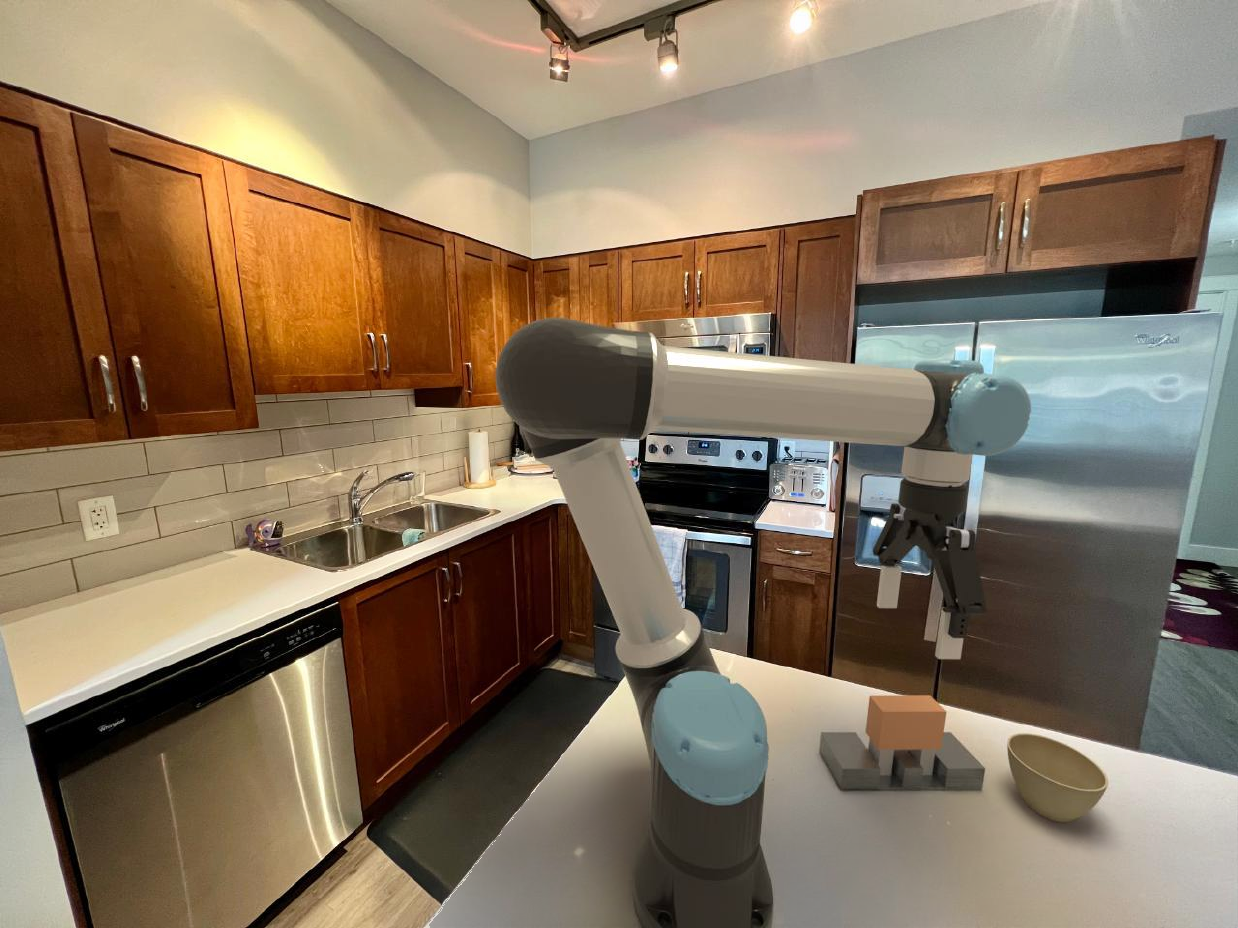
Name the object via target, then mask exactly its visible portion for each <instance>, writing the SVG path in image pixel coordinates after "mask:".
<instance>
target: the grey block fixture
mask: <svg viewBox="0 0 1238 928" xmlns="http://www.w3.org/2000/svg"><path fill="white" fill-rule="evenodd" d="M818 753H819V755H820V757H821V759H822V760H823V762H824V763H825V765H826V766H825V767H826V768H828V771H829V773H830V774H831V776H832V778H833V780H834V781H835V783H836V785H837V787H838V789H839V791H842V792H843V791H845V792H846V791H850V792H851V791H861V792H862V791H863V792H864V791H865V792H866V791H982V790H983V784H984V779H985V772H986V767H985V766H984V765H983V764H982V763H981V762H980V761H979V760H978V759H977V758H976V757H975V756H974V755H973V754H972V752H970V751H969V749H967V748H966V746H964V745H963V743H962V742H961V741H960V740H959V739H958V738H957V737H956V736H955V735H954V734H953V733H952V732H950V731H944V733H943V740H942V746H941V749H936V751H935V758H934V765H933V772H932V775H923V769H924V768H923V767H922V766H921V765H920V763H919V762H918V761H917V760H916V758H915V757H914V756H913V755H912V753H911V752H910V751H909V750H894V755H893V763H892V771H891V775H880V770H881V768H880V767H879V765H878V764H877V762H876V761H875V760H874V758H873V757H872V755H871V754H870V752H869V751H868V748H867V747H866V745H865V744H864V742H863V741H862V739H861V738H860V736H859V735H858V734H857V732H856V731H855V732H854V731H851V732H849V731H845V732H843V731H840V732H839V731H837V732H836V731H832V732H831V731H830V732H829V731H828V732H827V731H826V732H825V731H821V732H820V742H819V751H818Z"/></svg>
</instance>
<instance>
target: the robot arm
mask: <svg viewBox="0 0 1238 928" xmlns="http://www.w3.org/2000/svg"><path fill="white" fill-rule="evenodd" d="M494 379H495V387H496V389H495V390H496V392H497V393H496V394H497V395H498V399H499V401H500V403H501V405H502V407H503V409H504V411H505V412H506V414H507V415H508V416H509V417H510V419H511V420H512V421H513V422H515V423H516V424H517V425H518V426H519V427H520V428H521V430H522V432H523V434H524V437H525V439H526V441H527V443H528V446H529V448H530V450H531V454H532V456H533V458H534V460H535V461H536V462H538V463H541V464H544V465H546V466H549V468H551V469H552V470H553V471H554V474H555V477H556V479H557V481H558V484H559V487H560V489H561V491H562V495H563V496H564V499H565V501H566V504H567V506H568V509H569V512H570V513H571V516H572V518H573V521H574V523H575V525H576V528H577V530H578V532H579V535H580V538H581V541H582V542H583V545H584V547H585V550H586V553H587V555H588V557H589V560H590V562H591V564H592V566H593V569H594V571H595V574H596V576H597V580H598V581H599V584H600V588H601V589H602V592H603V594H604V596H605V598H606V601H607V604H608V607H609V608H610V610H611V612H612V613H611V614H612V616H613V618H614V620H615V623H616V626H617V627H618V631H619V633H620V635H619V637H618V638H617V640H616V642H615V643H616V644H615V648H614V649H615V654H616V657H617V658H618V661H619V663H620V664H619V665H620V666H621V668H622V671H623V673H624V676H625V678H626V681H627V684H628V686H629V688H630V691H631V693H632V696H633V698H634V702H635V705H636V709H637V712H638V716H639V720H640V725H641V730H642V732H643V737H644V741H645V746H646V749H647V753H648V759H649V763H650V771H651V799H650V802H651V803H650V822H649V824H648V826H647V829H646V831H645V833H644V836H643V837H642V840H641V842H640V844H639V847H638V849H637V852H636V855H635V860H634V865H633V866H634V867H633V877H632V878H633V881H632V883H633V885H632V887H633V894H632V895H633V900H634V906H635V910H636V913H637V916H638V919H639V922H640V923H641V925H642V927H643V928H772V923H773V911H774V891H773V883H772V879H771V875H770V871H769V869H768V866H767V865H768V864H767V863H766V859H765V855H764V852H763V849H762V848H763V847H762V845H761V835H762V834H761V833H762V823H763V811H764V798H765V787H766V774H767V771H768V765H769V764H768V763H769V748H770V746H769V743H768V729H767V722H766V717H765V715H764V712H763V710H762V707H761V705H759V702H758V701H757V700H756V698H755V696H753V694H751V693H750V691H749V690H748V689H746V688H745V687H744V686H743V685H742V684H740V683H739V682H736V683H732V682H731V679H730V678H729V677H728V676H725V675H723V674H721V672H720V669H719V668H718V666H717V663H716V660H715V659H714V656H713V653H712V650H711V647H710V645H709V643H708V640H707V637H706V635H705V632H704V629H703V626H702V624H701V622H700V621H701V620H700V619H699V617H698V616H697V615H696V614H695V613H694V612H693V611H691V610H689V609H686V608H683V607H682V604H681V602H680V599H679V596H678V594H677V590H676V588H675V586H674V582H673V580H672V577H671V575H670V573H669V569H668V567H667V564H666V561H665V558H664V556H663V553H662V550H661V548H660V546H659V542H658V541H657V538H656V534H655V532H654V530H653V527H652V524H651V522H650V518H649V516H648V513H647V511H646V508H645V505H644V503H643V500H642V497H641V495H640V492H639V489H638V487H637V484H636V482H635V479H634V475H633V473H632V470H631V468H630V465H629V462H628V460H627V457H626V455H625V451H624V449H623V447H622V445H621V441H622V440H623V439H625V440H638V441H639V440H640V441H642V440H644V439H645V438H646V437H647V436H648V435H649V434H651V433H652V432H654V431H655V430H658V431H660V430H661V431H672V432H673V431H674V432H675V431H676V432H685V433H686V432H687V433H688V432H690V433H702V434H719V435H731V436H732V435H733V436H745V437H760V438H761V437H763V438H776V439H794V440H806V441H807V440H808V441H820V442H837V443H851V444H865V445H866V444H868V445H878V446H880V445H882V446H898V447H903V448H904V450H903V457H902V464H901V475H903V476H904V478H902V479H901V480H900V482H899V483H900V484H899V491H898V492H899V493H898V500H897V502H898V503H891V504H890V508H889V512H888V517H887V519H886V521H885V523H884V526H883V527H882V530H881V531H880V534H879V536H878V538H877V540H876V542H875V544H874V546H873V548H872V555H873V556H876V557H878V563H879V564H880V570H879V571H880V572H879V582H878V591H877V601H876V607H877V608H878V609H897V608H898V600H899V593H900V585H901V578H902V568H903V567H901V566H900V565H903V561H902V560H903V559H904V558H905V557H906V556H907V555H908V554H909V553H910V552H911V551H912V550H913V549H914V548H915V547H918V548H919V549H920V550H921V551H923V552H925V555H926V557H927V558H928V559H929V560H931V561H932V562H931V563H932V565H933V568H934V572H935V574H936V578H937V580H938V583H939V585H940V589H941V591H942V594H943V598H944V600H945V602H946V603H945V604H946V606H945V607H941V610H940V611H941V612H940V617H939V624H938V632H937V640H936V646H935V654H934V656H935V657H936V658H937V659H938V660H961V659H962V651H963V644H964V639H966V637H967V635H968V629H969V621H970V616H974V615H975V616H976V615H977V616H982V615H983V616H985V615H986V614H987V613H988V610H987V609H988V608H987V605H986V603H987V602H986V599H985V594H984V589H983V583H982V579H981V574H980V573H981V572H980V569H979V565H978V557H977V553H976V532H975V531H974V530H973V529H960V528H957V525H956V519H957V517H958V516H960V515H962V514H964V513H965V511H966V507H967V500H968V492H969V487H967V485H966V484H965V483H967V482H968V481H969V480H970V478H971V477H970V476H971V468H972V461H973V455H974V456H975V455H976V456H984V457H985V456H986V457H988V456H989V457H990V456H996V455H999V454H1002V453H1004V452H1006V451H1008V450H1010V449H1011V448H1013V447H1014V446H1015V445H1016V444H1017V443H1018V442H1019V441H1021V439H1022V437H1023V436H1024V434H1026V431H1027V429H1028V427H1029V421H1030V416H1031V413H1032V404H1031V400H1030V396H1029V394H1028V392H1027V389H1026V388H1025V387H1024V385H1022V383H1020V382H1019V381H1018V380H1016V379H1014V378H1013V377H1011V376H1007V375H1004V374H991V373H990V374H988V373H985V370H984V366H983V364H982V363H981V362H979V361H977V360H970V359H968V360H967V359H963V360H962V359H944V360H943V359H942V360H941V359H931V360H930V359H928V360H927V359H926V360H920V361H919V362H916V364H915V365H914V369H912V368H911V369H909V368H899V367H892V366H890V367H889V366H888V367H887V366H877V365H869V364H859V363H847V362H839V361H838V362H837V361H827V360H817V359H816V360H814V359H806V358H805V359H804V358H795V357H794V358H793V357H787V356H786V357H784V356H774V355H765V354H764V355H763V354H754V353H753V354H752V353H742V352H732V351H730V352H729V351H721V350H720V351H718V350H712V349H711V350H710V349H701V348H700V349H699V348H691V347H689V348H688V347H680V346H679V347H678V346H669V345H663V344H661V343H660V341H659V340H658V339H657V337H656V336H655V335H654V334H653V333H652V332H648V331H646V332H645V331H639V330H638V331H635V330H628V329H622V328H615V327H611V326H610V327H609V326H604V325H598V324H593V323H590V322H584V321H580V320H576V319H570V318H565V317H545V318H541V319H537V320H533V321H532V322H530V323H527V324H525V325H523V326H522V327H521V328H519V329H518V330H517V331H515V332H514V333H513V334H512V335H511V336H510V337H509V338H508V339H507V341H506V342H505V344H504V345H503V347H502V349H501V351H500V354H499V356H498V358H497V362H496V367H495V378H494ZM944 549H946V550H944Z"/></svg>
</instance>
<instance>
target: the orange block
mask: <svg viewBox="0 0 1238 928" xmlns="http://www.w3.org/2000/svg"><path fill="white" fill-rule="evenodd" d="M866 716H867V717H866V725H865V734H866V735H867V736H868V738H869V740H868V748H867V749H868V751H869V752H870V754H871V755H872V757H873V758H874V760H875V761H876V762H877V764H878V765H879V767H880V768H881V770H880V775H891V771H892V763H893V755H894V750H909V751H910V752H911V753H912V755H913V756H914V757H915V758H916V760H917V761H918V762H919V763H920V765H921V766H922V767H923V768H924V769H923V775H932V772H933V765H934V758H935V751H936V749H941V746H942V740H943V733H944V732H945V724H946V717H947V710H946V709H945V708H944V707H942V706H941V705H940V704H939V703H938V702H937V701H936V699H935V698H934V697H933V696H932V695H926V694H925V695H923V694H921V695H919V694H918V695H914V694H913V695H912V694H911V695H906V694H905V695H901V694H900V695H869V699H868V706H867V715H866Z"/></svg>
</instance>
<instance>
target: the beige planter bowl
mask: <svg viewBox="0 0 1238 928" xmlns="http://www.w3.org/2000/svg"><path fill="white" fill-rule="evenodd" d="M1006 748H1007V759H1008V763H1009V764H1008V765H1009V768H1010V772H1011V775H1012V778H1013V780H1014V783H1015V786H1016V787H1017V790H1018V792H1019V795H1021V798H1022V800H1023V801H1024V802H1025V803H1026V805H1028V807H1029V808H1031V809H1032V811H1034V812H1036V813H1037V814H1039V815H1040V816H1042V817H1044V818H1047V819H1049V820H1051V821H1054V822H1058V823H1068V822H1071V821H1075V820H1077V819H1078V818H1080V817H1082V816H1084V815H1085V814H1087V813H1088V812H1089V811H1091V810H1092V809H1093V808H1094V807H1095V806H1096V805H1097V804H1098V803H1099V801H1100V800H1101V799H1102V797H1103V796H1104V794H1105V793H1106V790H1107V788H1108V786H1109V779H1108V776H1107V774H1106V773H1105V771H1104V770H1103V769H1102V767H1100V766H1099V765H1098V764H1097V763H1096V762H1095V761H1094V760H1092V759H1091V758H1090V757H1088V756H1087V755H1085V754H1084V753H1082V752H1081V751H1080V750H1077V749H1075V748H1074V747H1072V746H1070V745H1068V744H1067V743H1064V742H1061V741H1059V740H1057V739H1054V738H1051V737H1048V736H1044V735H1041V734H1036V733H1028V732H1027V733H1025V732H1022V733H1015V734H1013V735H1011V736H1009V738H1008V739H1007V746H1006Z"/></svg>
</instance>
